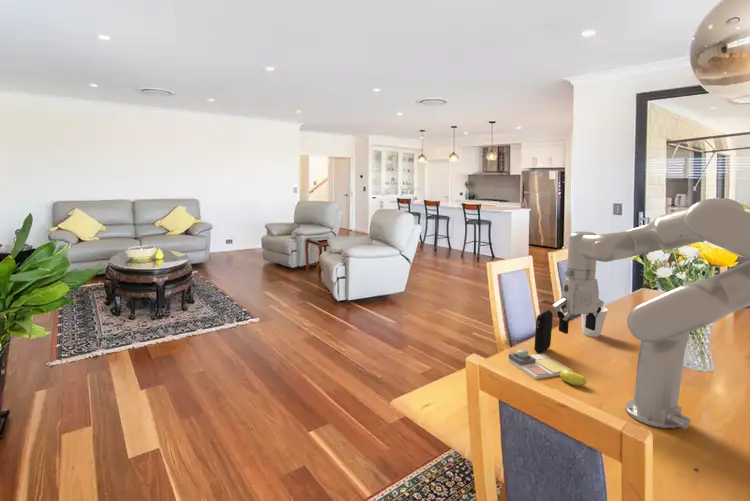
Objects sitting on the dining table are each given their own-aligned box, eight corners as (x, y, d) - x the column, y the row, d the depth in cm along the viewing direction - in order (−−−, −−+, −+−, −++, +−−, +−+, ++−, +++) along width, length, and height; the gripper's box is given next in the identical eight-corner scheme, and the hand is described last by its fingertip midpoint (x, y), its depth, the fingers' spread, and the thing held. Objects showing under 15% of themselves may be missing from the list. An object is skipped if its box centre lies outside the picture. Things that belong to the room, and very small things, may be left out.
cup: (611, 337, 168) (614, 310, 166) (592, 340, 165) (595, 312, 163) (590, 329, 177) (592, 303, 176) (572, 332, 174) (574, 305, 172)
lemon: (564, 376, 134) (565, 365, 133) (589, 387, 127) (590, 374, 127) (556, 380, 132) (557, 368, 131) (581, 390, 125) (582, 378, 125)
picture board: (572, 373, 136) (573, 365, 136) (535, 379, 132) (536, 371, 132) (543, 356, 149) (543, 349, 149) (508, 360, 145) (508, 353, 145)
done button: (530, 358, 142) (530, 352, 141) (520, 359, 141) (521, 353, 140) (523, 354, 145) (523, 348, 145) (514, 355, 144) (514, 349, 144)
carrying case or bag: (539, 357, 148) (542, 316, 146) (531, 354, 150) (533, 314, 148) (551, 348, 156) (554, 309, 154) (543, 346, 158) (546, 308, 156)
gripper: (565, 278, 119) (561, 337, 121) (615, 274, 124) (610, 331, 126) (547, 273, 126) (543, 329, 129) (594, 270, 131) (590, 324, 134)
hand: (576, 330), depth 128 cm, fingers open, 9 cm apart
